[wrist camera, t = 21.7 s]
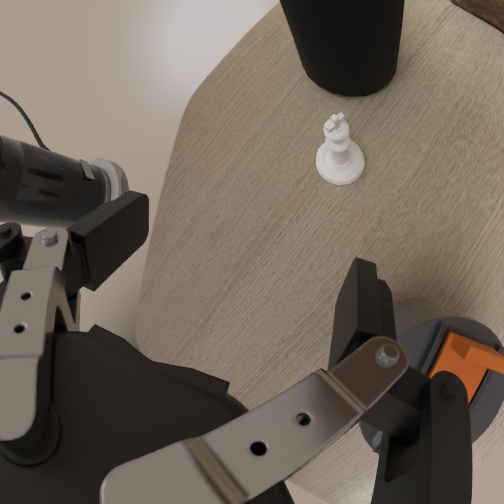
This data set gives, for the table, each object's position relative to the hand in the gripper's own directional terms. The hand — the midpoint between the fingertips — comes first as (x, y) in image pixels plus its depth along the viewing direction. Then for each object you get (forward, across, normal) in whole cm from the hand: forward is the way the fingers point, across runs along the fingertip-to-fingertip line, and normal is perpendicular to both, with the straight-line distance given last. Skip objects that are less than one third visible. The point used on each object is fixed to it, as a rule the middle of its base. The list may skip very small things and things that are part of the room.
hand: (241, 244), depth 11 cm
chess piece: (+22, -4, +1) cm, 22 cm away
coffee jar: (+28, -2, -9) cm, 30 cm away
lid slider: (+2, -13, +5) cm, 15 cm away
